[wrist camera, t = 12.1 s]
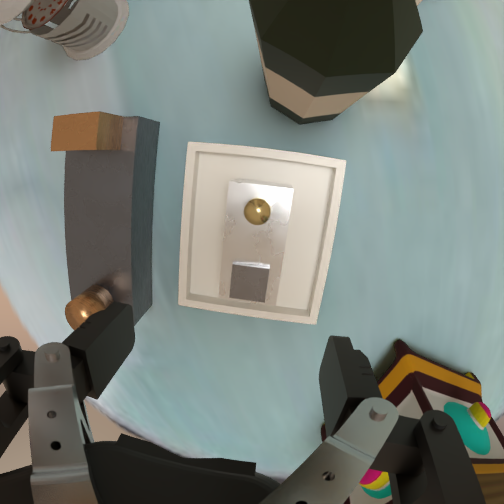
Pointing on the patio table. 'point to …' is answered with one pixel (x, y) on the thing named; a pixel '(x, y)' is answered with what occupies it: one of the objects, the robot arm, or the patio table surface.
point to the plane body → (107, 210)
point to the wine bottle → (330, 51)
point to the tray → (298, 235)
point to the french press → (70, 22)
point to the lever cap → (254, 240)
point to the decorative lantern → (449, 401)
